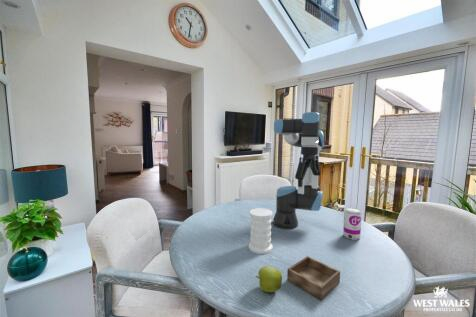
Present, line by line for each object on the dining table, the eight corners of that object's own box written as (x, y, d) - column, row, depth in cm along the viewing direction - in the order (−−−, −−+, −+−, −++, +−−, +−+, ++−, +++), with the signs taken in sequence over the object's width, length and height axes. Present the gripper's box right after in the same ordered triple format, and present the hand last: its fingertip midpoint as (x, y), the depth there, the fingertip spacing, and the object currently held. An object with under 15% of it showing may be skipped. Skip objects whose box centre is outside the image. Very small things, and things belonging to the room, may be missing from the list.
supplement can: (362, 241, 113) (364, 213, 112) (345, 239, 115) (346, 212, 113) (357, 234, 121) (358, 208, 120) (341, 232, 123) (342, 207, 121)
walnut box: (287, 280, 82) (287, 268, 82) (307, 266, 91) (307, 256, 91) (320, 300, 72) (321, 287, 72) (339, 282, 81) (340, 271, 80)
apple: (255, 281, 81) (255, 261, 80) (279, 282, 81) (280, 262, 80) (256, 297, 74) (256, 275, 73) (283, 297, 73) (283, 275, 72)
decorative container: (274, 244, 110) (275, 209, 108) (270, 256, 99) (270, 217, 97) (252, 240, 114) (252, 207, 112) (245, 251, 103) (245, 214, 101)
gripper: (303, 147, 90) (301, 197, 92) (328, 145, 107) (326, 187, 110) (287, 147, 95) (286, 194, 97) (314, 145, 113) (312, 185, 115)
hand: (307, 190), depth 104 cm, fingers open, 13 cm apart
